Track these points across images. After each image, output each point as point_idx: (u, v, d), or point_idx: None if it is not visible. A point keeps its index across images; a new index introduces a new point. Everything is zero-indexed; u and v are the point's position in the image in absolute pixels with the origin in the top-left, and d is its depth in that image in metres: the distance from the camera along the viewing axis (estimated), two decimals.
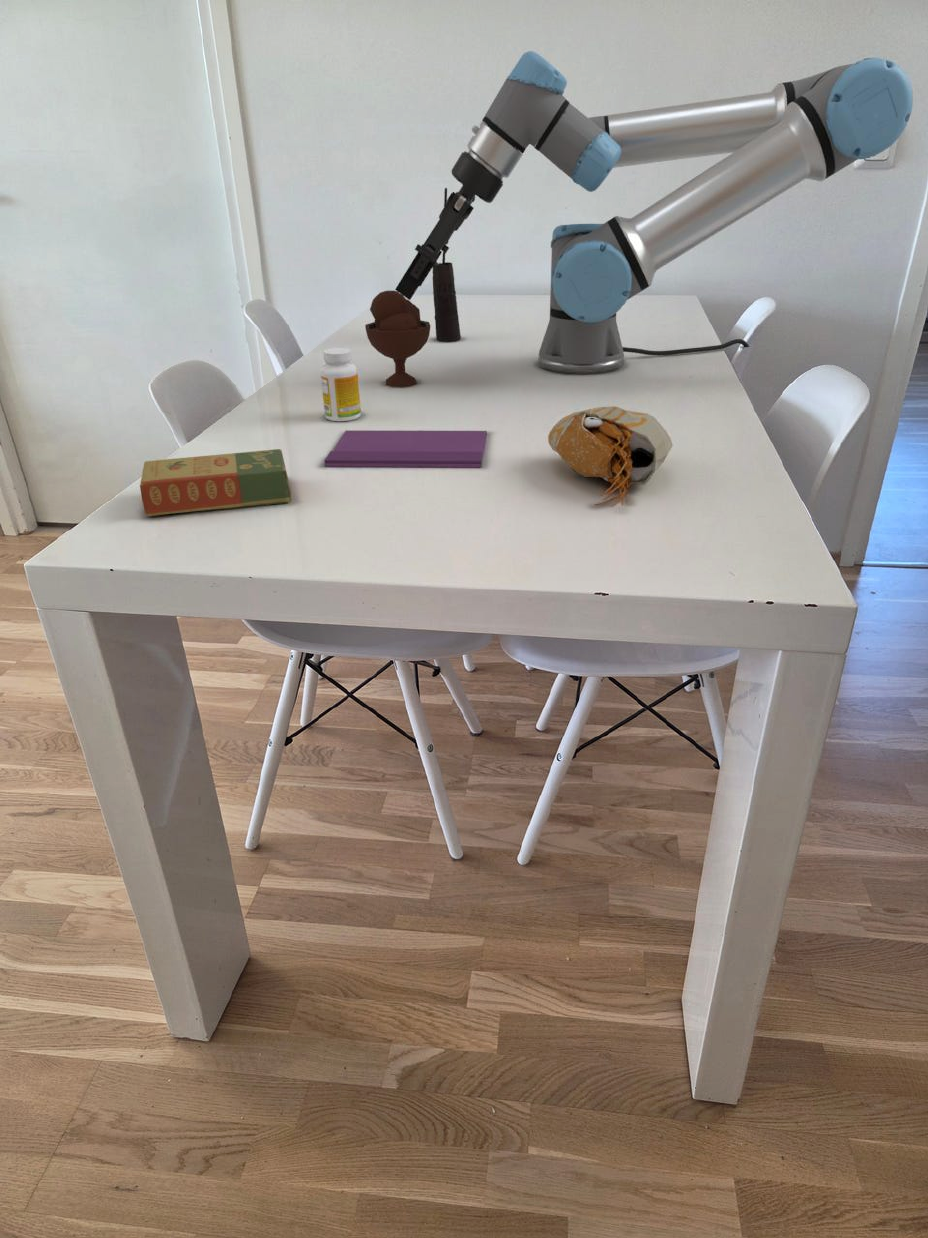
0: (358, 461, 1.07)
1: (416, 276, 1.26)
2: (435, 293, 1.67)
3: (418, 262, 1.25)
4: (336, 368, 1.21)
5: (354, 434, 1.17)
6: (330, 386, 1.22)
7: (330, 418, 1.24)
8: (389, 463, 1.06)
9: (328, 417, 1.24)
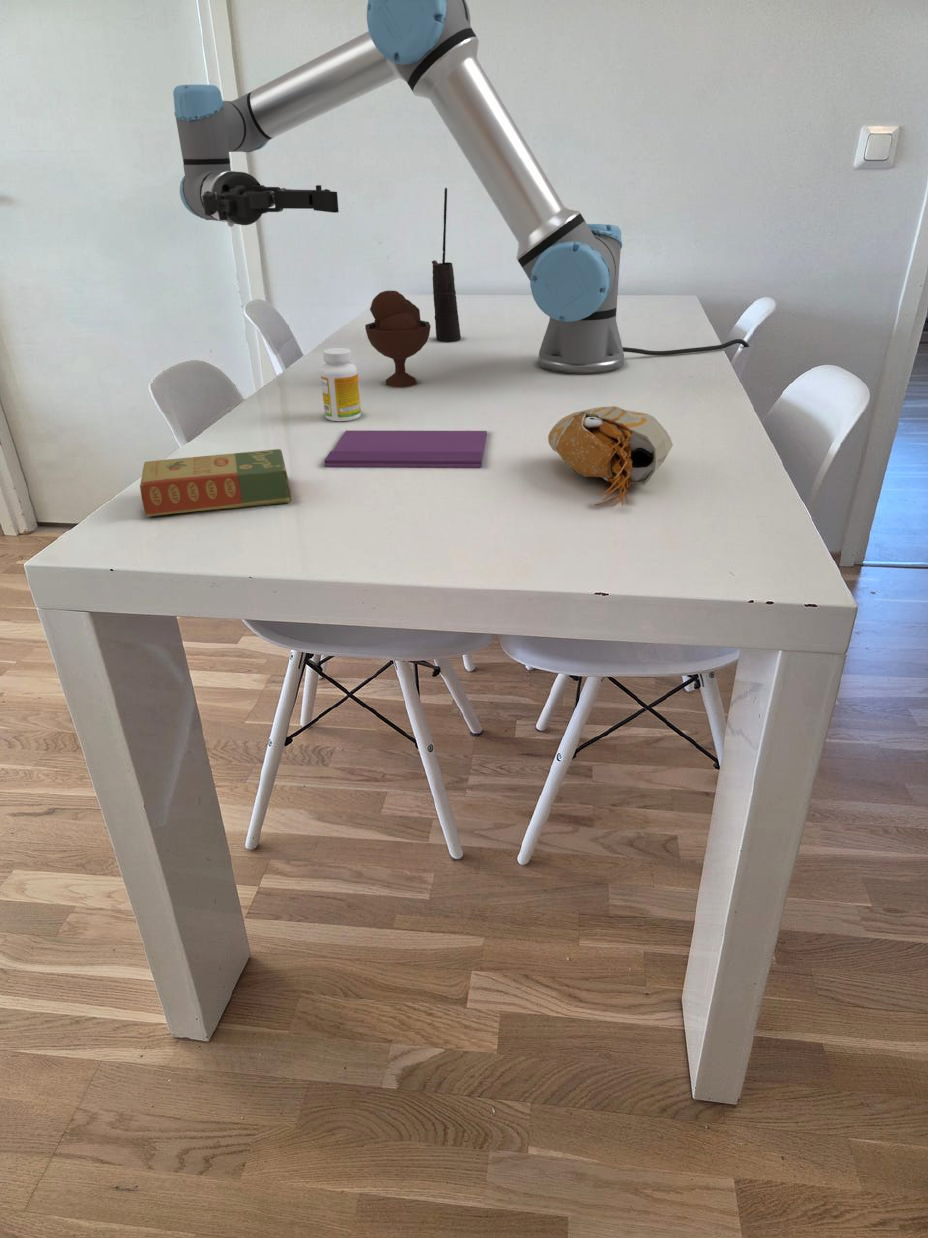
0: (358, 461, 1.07)
1: (227, 203, 1.17)
2: (435, 293, 1.67)
3: (222, 209, 1.19)
4: (336, 368, 1.21)
5: (354, 434, 1.17)
6: (330, 386, 1.22)
7: (330, 418, 1.24)
8: (389, 463, 1.06)
9: (328, 417, 1.24)
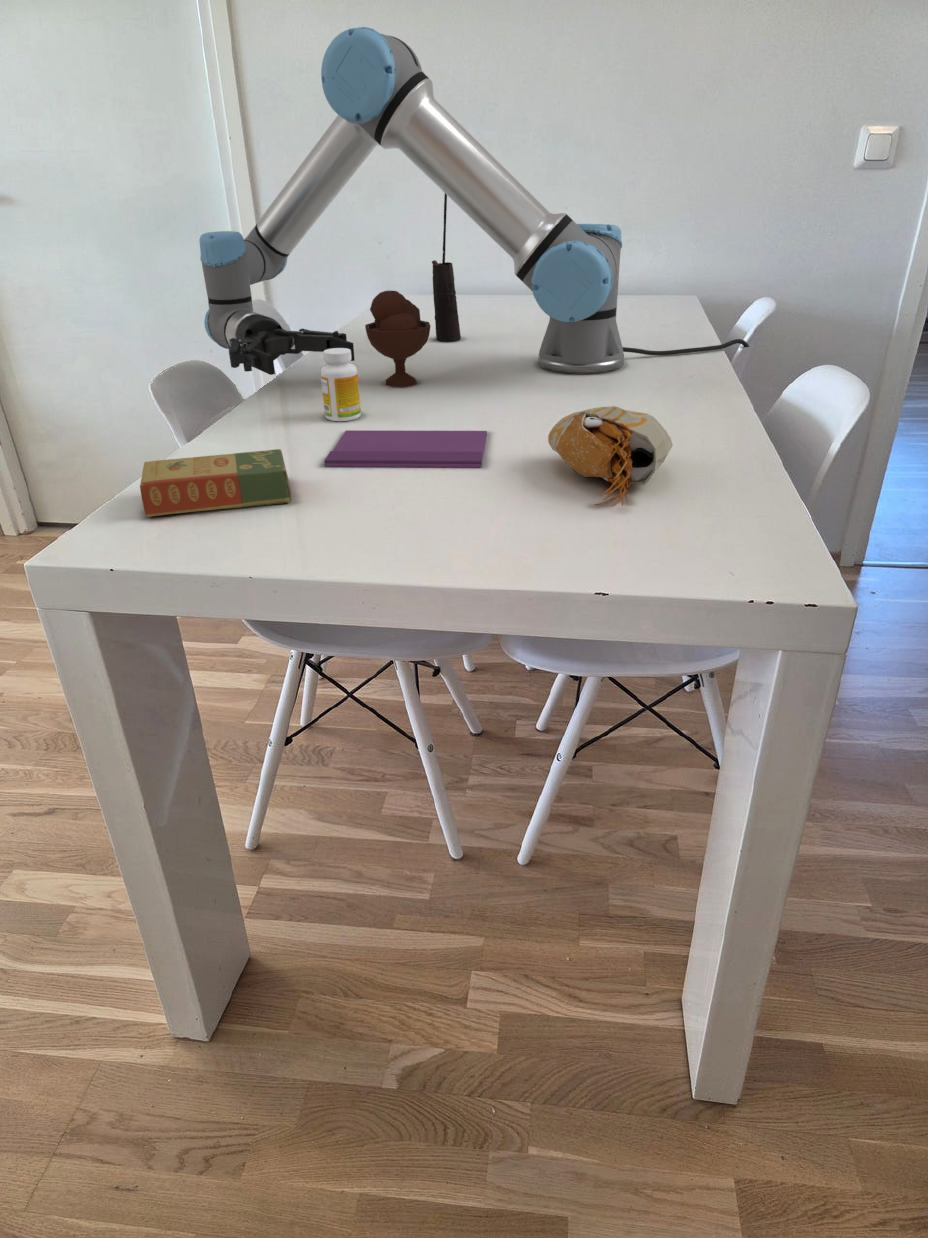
0: (358, 461, 1.07)
1: (252, 359, 1.27)
2: (435, 293, 1.67)
3: (247, 363, 1.28)
4: (336, 368, 1.21)
5: (354, 434, 1.17)
6: (330, 386, 1.22)
7: (330, 418, 1.24)
8: (389, 463, 1.06)
9: (328, 417, 1.24)
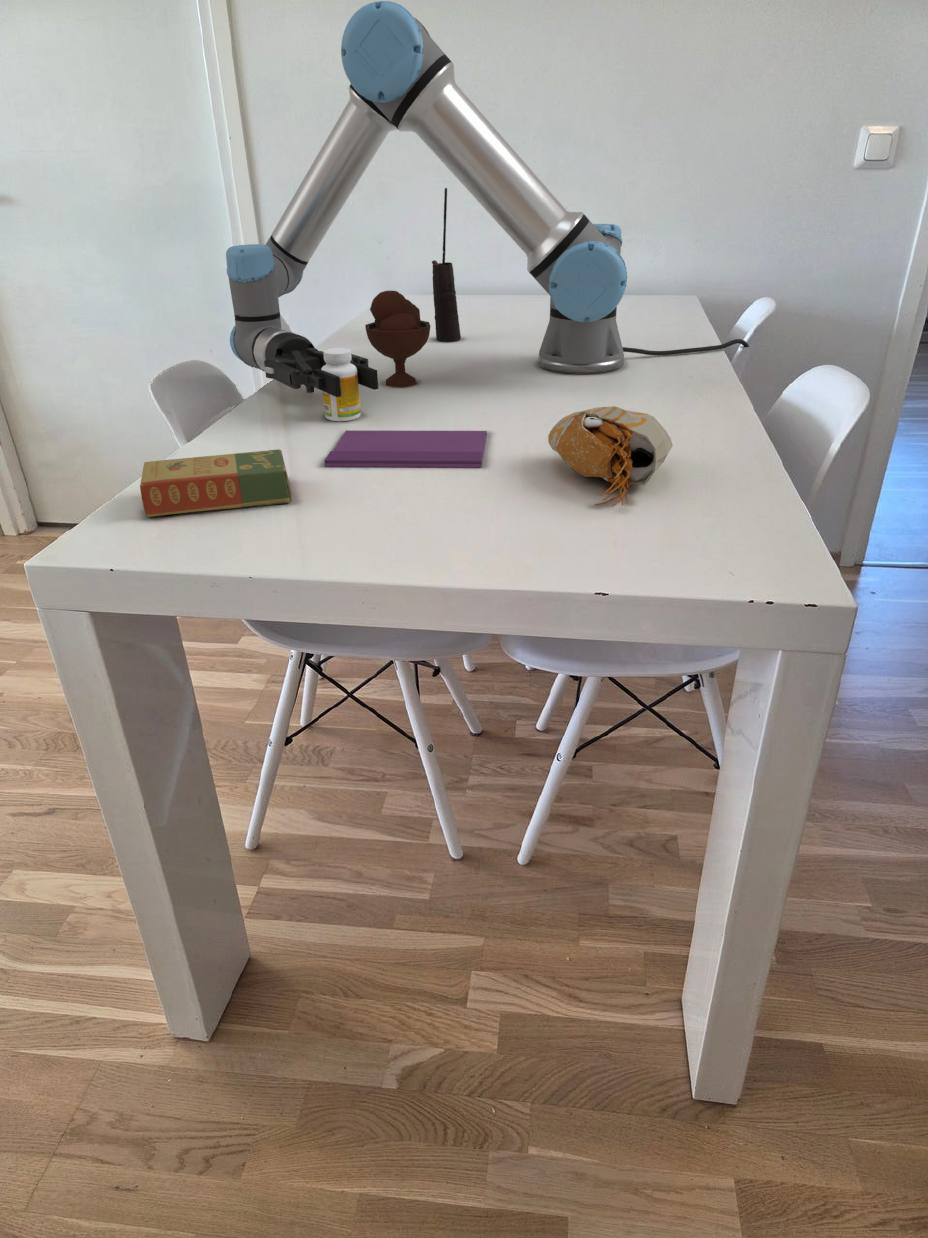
0: (358, 461, 1.07)
1: (316, 381, 1.20)
2: (435, 293, 1.67)
3: (310, 384, 1.21)
4: (336, 368, 1.21)
5: (354, 434, 1.17)
6: None
7: (330, 417, 1.24)
8: (389, 463, 1.06)
9: (328, 417, 1.24)
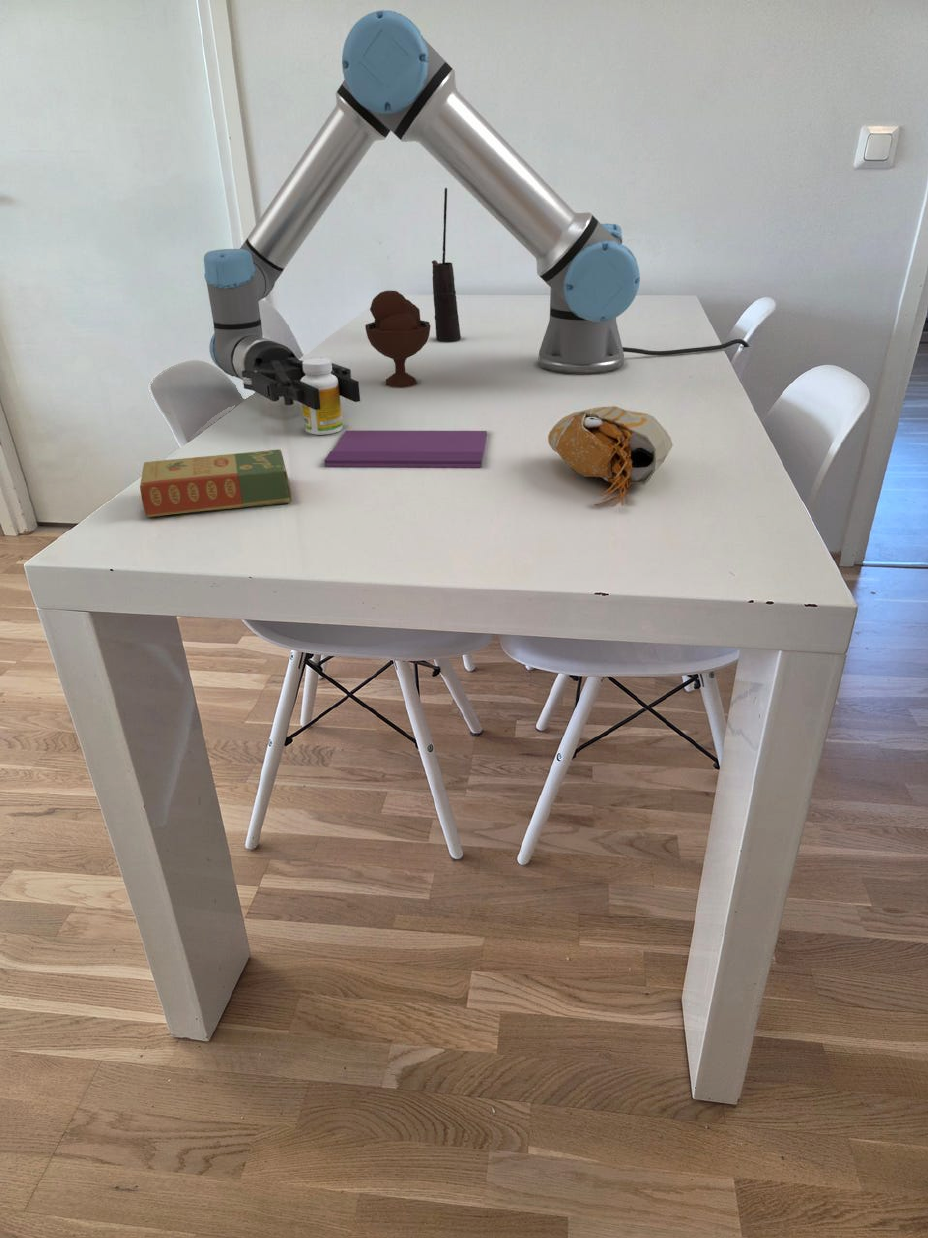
0: (358, 461, 1.07)
1: (294, 393, 1.14)
2: (435, 293, 1.67)
3: (289, 396, 1.16)
4: (316, 379, 1.15)
5: (354, 434, 1.17)
6: None
7: (310, 431, 1.19)
8: (389, 463, 1.06)
9: (308, 430, 1.19)
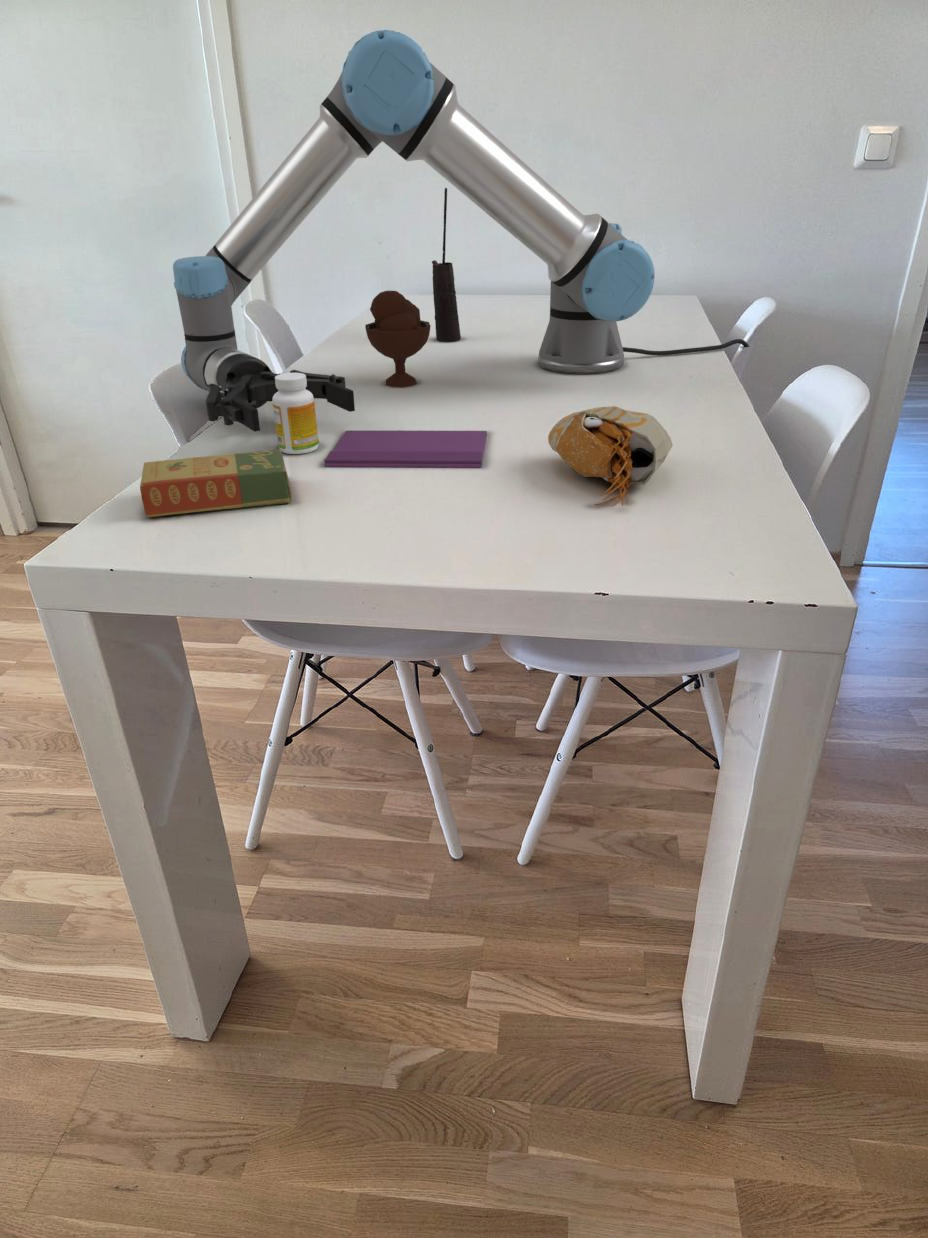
0: (358, 461, 1.07)
1: (233, 413, 1.06)
2: (435, 293, 1.67)
3: (227, 416, 1.08)
4: (289, 395, 1.08)
5: (354, 434, 1.17)
6: (283, 416, 1.09)
7: (284, 450, 1.11)
8: (389, 463, 1.06)
9: (282, 449, 1.12)
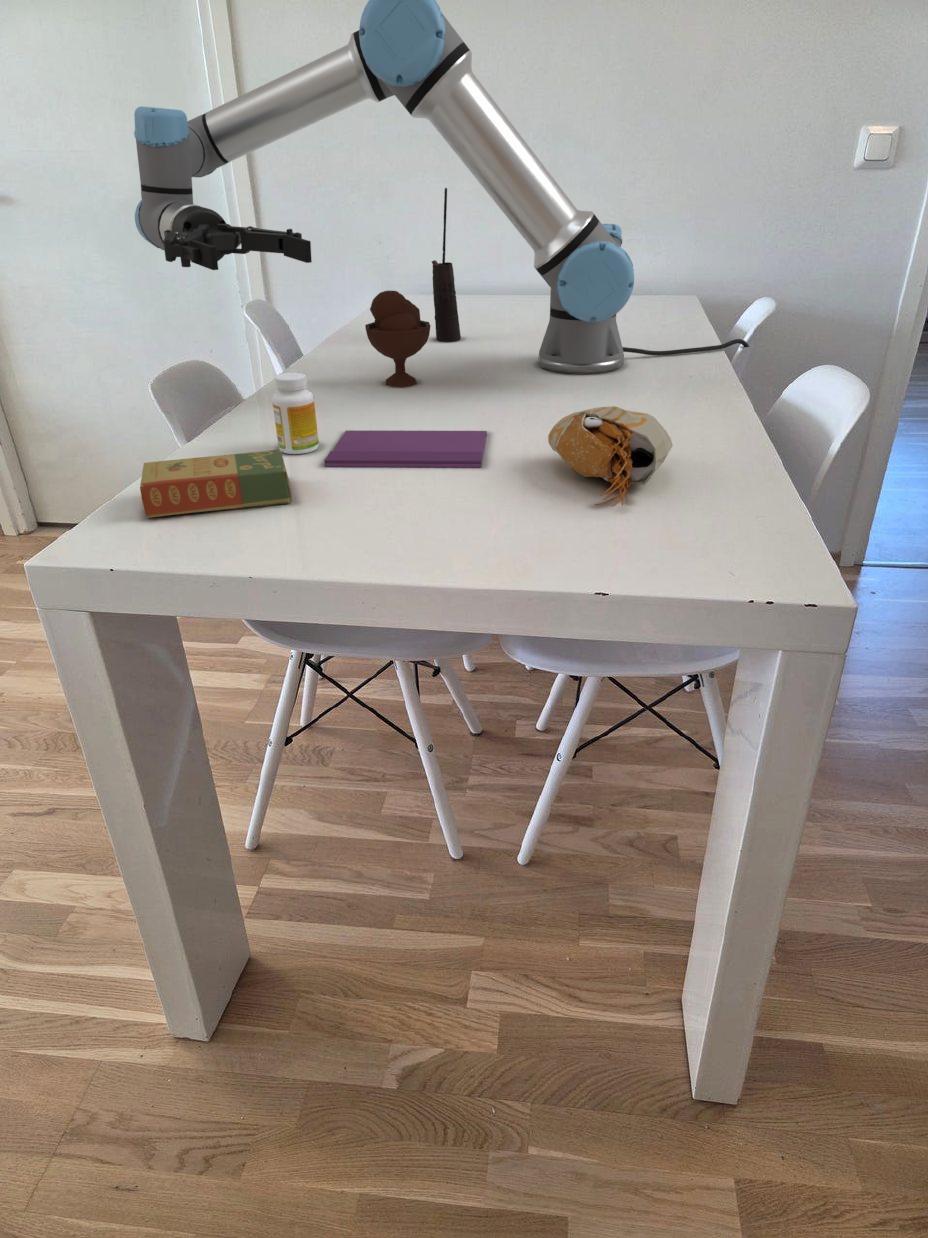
0: (358, 461, 1.07)
1: (191, 251, 1.08)
2: (435, 293, 1.67)
3: (185, 256, 1.10)
4: (289, 395, 1.08)
5: (354, 434, 1.17)
6: (283, 416, 1.09)
7: (284, 450, 1.11)
8: (389, 463, 1.06)
9: (282, 449, 1.12)
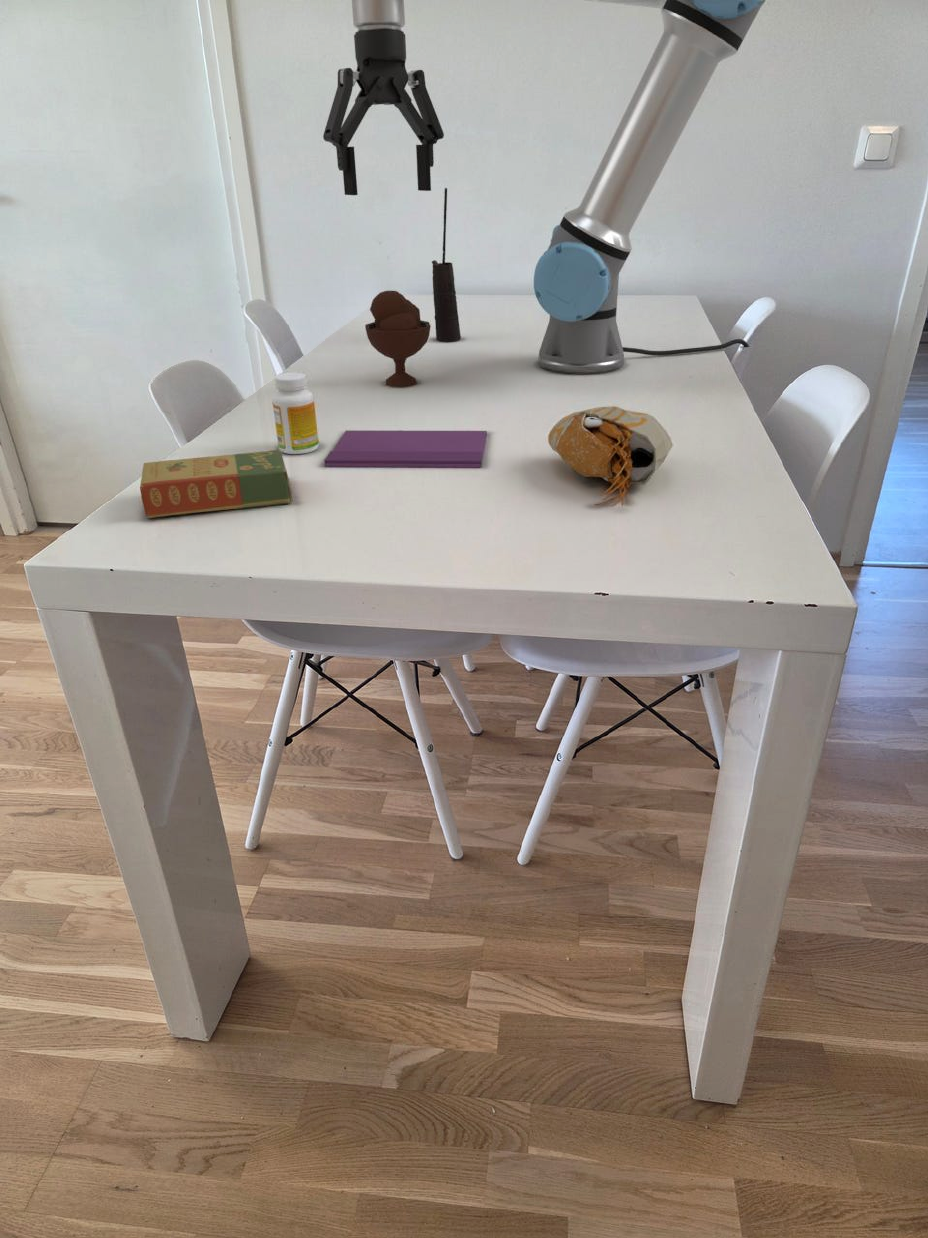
0: (358, 461, 1.07)
1: (341, 168, 1.27)
2: (435, 293, 1.67)
3: (337, 154, 1.27)
4: (289, 395, 1.08)
5: (354, 434, 1.17)
6: (283, 416, 1.09)
7: (284, 450, 1.11)
8: (389, 463, 1.06)
9: (282, 449, 1.12)
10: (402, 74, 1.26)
